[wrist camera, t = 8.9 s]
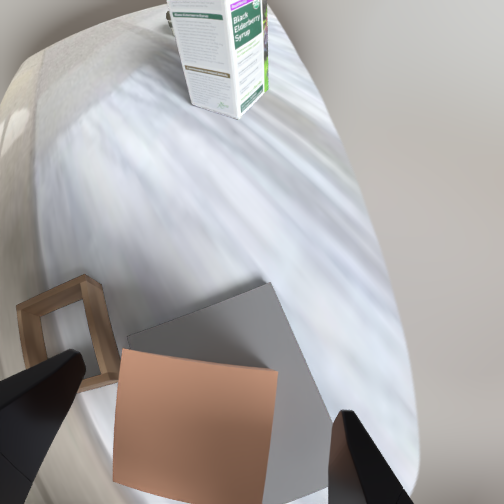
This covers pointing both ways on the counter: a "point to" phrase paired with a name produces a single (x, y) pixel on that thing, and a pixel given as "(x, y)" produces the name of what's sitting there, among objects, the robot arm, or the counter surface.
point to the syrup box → (222, 52)
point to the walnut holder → (96, 321)
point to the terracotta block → (193, 428)
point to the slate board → (262, 356)
